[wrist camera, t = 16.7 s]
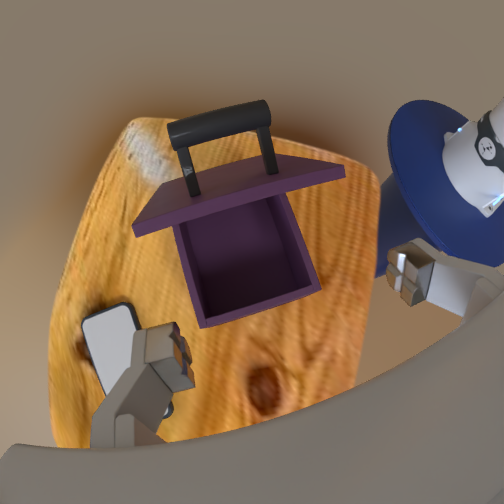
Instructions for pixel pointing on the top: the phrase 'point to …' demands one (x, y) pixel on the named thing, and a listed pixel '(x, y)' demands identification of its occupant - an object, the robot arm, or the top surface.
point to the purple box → (244, 260)
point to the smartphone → (112, 343)
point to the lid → (227, 169)
